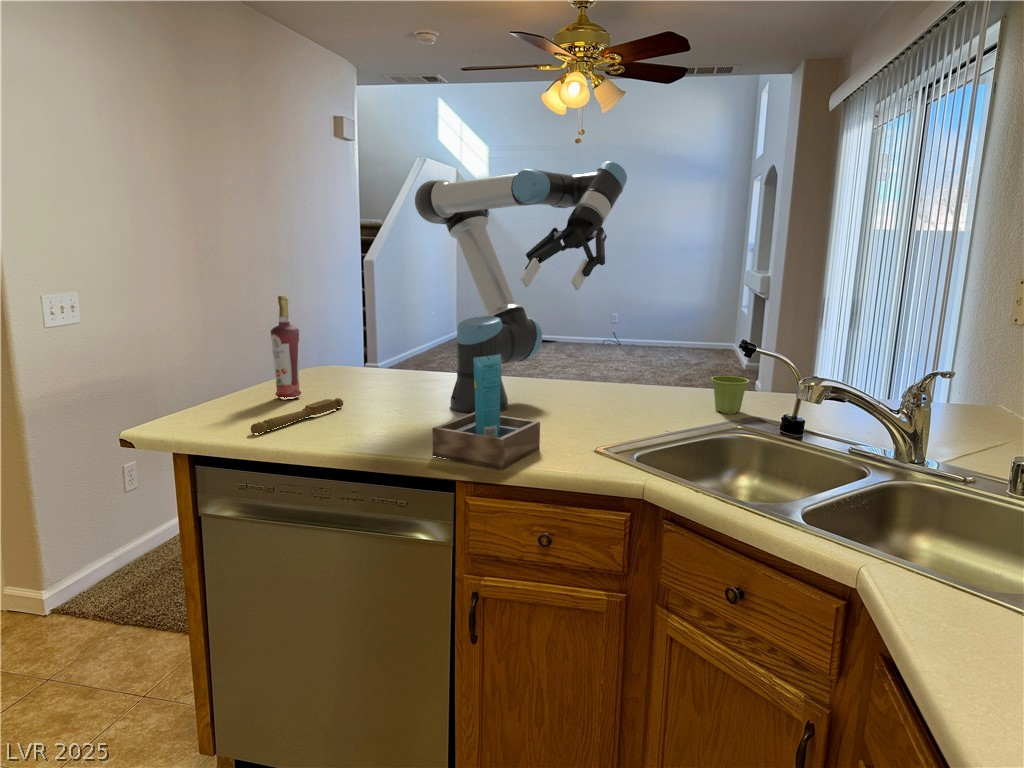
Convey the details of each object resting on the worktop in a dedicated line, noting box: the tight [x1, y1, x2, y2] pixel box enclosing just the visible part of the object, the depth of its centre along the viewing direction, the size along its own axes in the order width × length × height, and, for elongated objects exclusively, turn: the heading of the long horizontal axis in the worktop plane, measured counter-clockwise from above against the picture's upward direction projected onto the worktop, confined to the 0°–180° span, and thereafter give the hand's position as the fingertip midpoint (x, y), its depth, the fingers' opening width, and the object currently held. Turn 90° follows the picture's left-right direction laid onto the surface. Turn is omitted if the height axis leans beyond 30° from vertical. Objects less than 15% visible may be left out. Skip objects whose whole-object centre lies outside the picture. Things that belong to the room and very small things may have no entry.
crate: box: [431, 412, 541, 471], centre depth 139 cm, size 16×16×6 cm
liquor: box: [270, 295, 302, 398], centre depth 184 cm, size 7×7×28 cm
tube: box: [473, 354, 502, 438], centre depth 137 cm, size 7×5×19 cm, turn 141°
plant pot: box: [710, 375, 750, 415], centre depth 177 cm, size 9×9×9 cm
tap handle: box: [250, 397, 344, 435], centre depth 164 cm, size 3×3×30 cm
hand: (548, 284), depth 148 cm, fingers open, 13 cm apart
